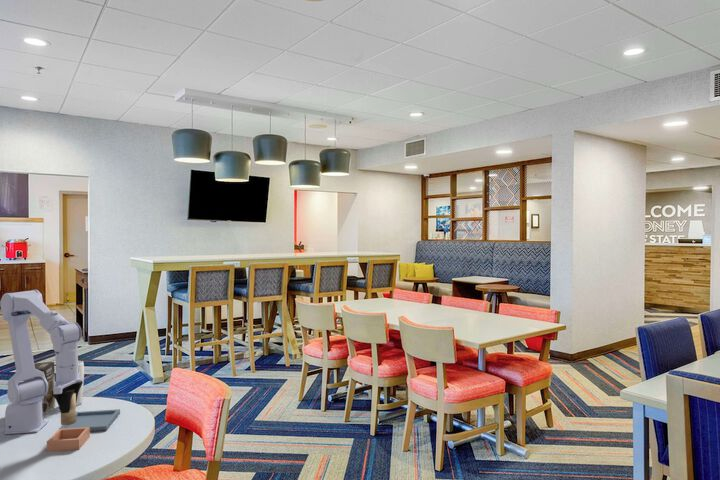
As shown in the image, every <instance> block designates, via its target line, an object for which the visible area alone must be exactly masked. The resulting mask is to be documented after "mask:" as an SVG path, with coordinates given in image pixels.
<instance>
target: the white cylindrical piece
mask: <svg viewBox="0 0 720 480" xmlns="http://www.w3.org/2000/svg"><path fill="white" fill-rule="evenodd" d="M78 372H80V378H83V380H82V381H83V384H82V385H81V388H80V390H79V393H78V397H77V402H76V407H78V406H79V405H81V404H82V403H83V400H84V398H83V396H84V383H85V382H84V381H85V379H84V377H85V364H84V361H83V360H78Z"/></svg>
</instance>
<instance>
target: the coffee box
mask: <svg viewBox="0 0 720 480" xmlns="http://www.w3.org/2000/svg"><path fill="white" fill-rule="evenodd" d="M34 365H35V369H37V370H39V371H42V372H44V375H45V378H46V380H47V382H48V392H47V394H46V395H44V399H42V416H45V415H46V414H47V413H49V412H50V411H51V410H52V409H53V408H54V407H56V399H55V397H54V396H53V395H52V391H53V388H54V387H55V381H56V372H55V362H54V361H46V362H45V361H44V362H34ZM31 379H34V378H29V379H26V380H23V382H24V381H27V380H31Z"/></svg>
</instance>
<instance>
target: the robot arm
mask: <svg viewBox="0 0 720 480" xmlns="http://www.w3.org/2000/svg"><path fill="white" fill-rule="evenodd" d="M43 300H44V299H43V294H42V293H41V292H40V291H39V290H38V289H32V290H26V291H25V290H24V291H18V292H6V293H4V294H3V295H2V297H1V299H0V310H1V316H2V320H4V321H7V323H8V324H7V325H8V331H9V337H10V341H11V346H12V347H11V348H12V354H13V359H14V365H15V372H14V375H12V376H11V377H10V378H9V379H8V380H7V398H8V400H9V403H8V404H7V405H6V407H5V412H4V413H5V414H4V415H5V417H4V418H5V420H4V421H5V432H4V435H12V434H15V435H16V434H27V433H30V434H31V433H38V432H39V431H40V430H41V429H42V428H43V427H45V426H46V425H47V424H48V423H49V421H48V420H43V418H44V417H43V415H42V399H44V395H46V394H47V392H48V382H47V380H46V378H45V375H44V372H42V371H39V370H37V369H35V365H34V364H35V362H34V361H35V360H34V355H33V349H32V348H33V347H32V343H31V337H30V331H29V326H28V320H29V318H30V317H32V316H35V317H36V318H37V319H39V325H40V326H41V327H42V329H43V330H45V331H46V332H47V333H48V334H49V336H50V340H51V343H52V349H53V351H54V352H55V356H54V357H55V387H54V388H53V391H52V395H53V396H54V397H55V402H56V403H57V404H58V409H59V411H60V414H61V413H69V411H70V406H71V398H72V395H73V392H74V393H76V402H77V397H78V393H79V390H80V388H81V385H82V384H83V385H84V382H83V381H82V380H83V378H80V372H78V361H79V356H78V355H79V349H78V345H79V344H78V342H80V341H81V339H82V335H83V332H82V331H83V330H82V328H81V326H80V324H79V323H78V322H76V321H75V322H73V321H70V322H69V321H68V320H67V319H66V318H65V317H63V316H62V315H61V314H60V313H59V312H58V311H57V310H50V308H49V307H48V306H47V305H46V304H45V302H44V301H43ZM29 378H34V379H31V380H27V381H24V380H26V379H29Z"/></svg>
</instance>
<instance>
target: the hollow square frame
mask: <svg viewBox="0 0 720 480" xmlns="http://www.w3.org/2000/svg"><path fill="white" fill-rule="evenodd" d="M90 437H91V432H90V427H83V428H68V429H58V430H57V431H56V432H55V433H54V434H53V435H52V436H51V437H50V438H48V440H46V451H47V452H48V453H49V452H63V451H75V450H80V449H81V448H82V446H84V444H85V443H86V442H87V441H88V439H89V438H90ZM47 452H46V453H47Z"/></svg>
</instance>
